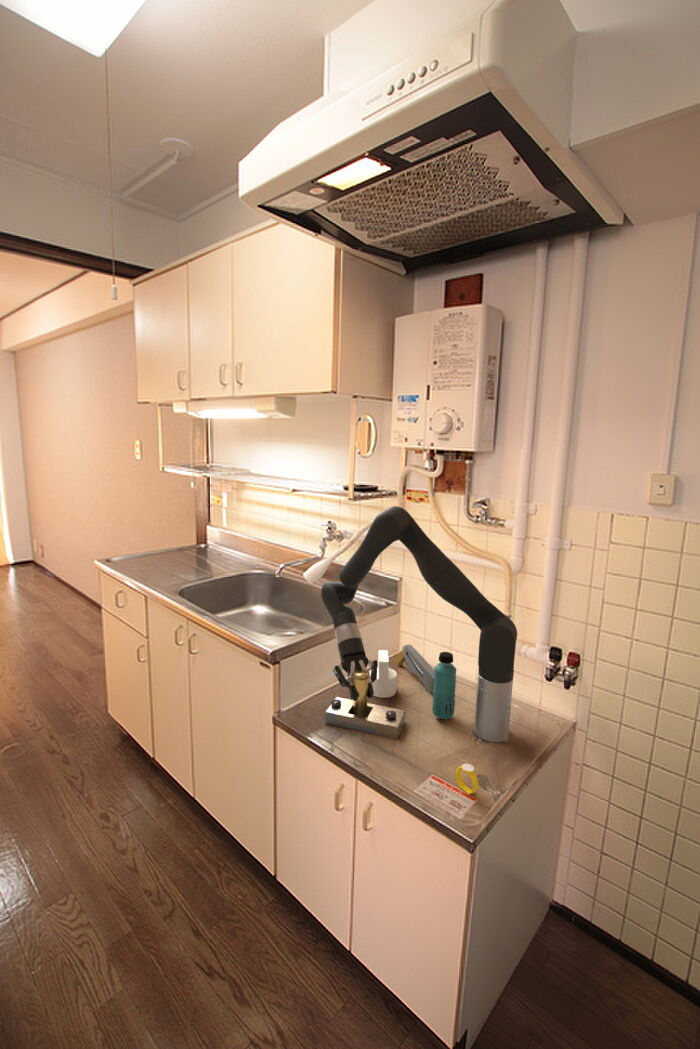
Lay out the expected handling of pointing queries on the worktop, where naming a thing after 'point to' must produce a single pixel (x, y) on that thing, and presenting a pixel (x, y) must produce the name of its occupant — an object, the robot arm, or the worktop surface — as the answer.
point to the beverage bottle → (444, 687)
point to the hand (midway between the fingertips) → (363, 698)
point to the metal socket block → (377, 722)
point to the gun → (417, 666)
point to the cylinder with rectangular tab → (384, 677)
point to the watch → (470, 770)
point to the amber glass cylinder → (361, 692)
